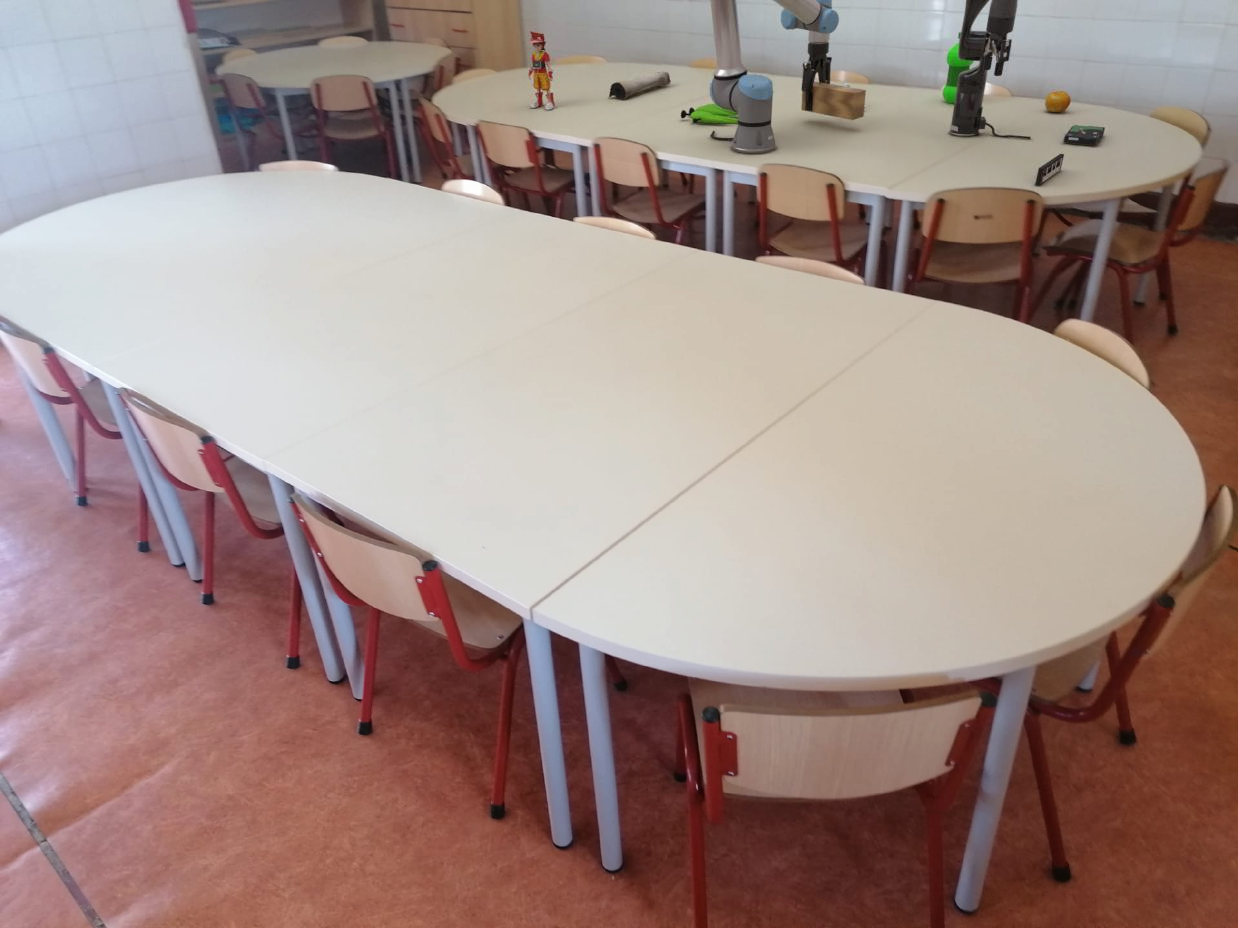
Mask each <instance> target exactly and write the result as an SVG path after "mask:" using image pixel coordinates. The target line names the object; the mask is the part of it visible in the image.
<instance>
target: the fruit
mask: <svg viewBox="0 0 1238 928" xmlns="http://www.w3.org/2000/svg"><path fill="white" fill-rule="evenodd" d="M1071 102H1072V99H1071V96H1070V94H1069V93H1067V92H1066V91H1063V90H1055V91H1052V92H1050V93H1049V94H1048V95H1047V96H1046V98H1045V101H1044V107H1045V109H1046V110H1047V111H1048V112H1051V113H1061V112H1065V111H1066V110H1067V109H1068V108H1069V106H1070V105H1071Z"/></svg>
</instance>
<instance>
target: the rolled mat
mask: <svg viewBox="0 0 1238 928" xmlns="http://www.w3.org/2000/svg"><path fill="white" fill-rule="evenodd" d="M671 83H672V81H671V77H670V74H669V72H668V71H658V72H654V73H649V74H645V75H640V76H637V77H633V78H628V79H623V80H620V81H616V82H613V83H612V84H611V85H610V89H609V95H608V97H609V98H611V97H616V99H620V100H622V101H623V100H626V99H627V98H629V97H630V96H632V95H635V94H636V93H638V92H640V91H643V90H644V89H647V88H650V87H655V86H658V87H659V86H661V87H665V86H669V85H670V84H671Z"/></svg>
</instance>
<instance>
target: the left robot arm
mask: <svg viewBox="0 0 1238 928" xmlns="http://www.w3.org/2000/svg"><path fill="white" fill-rule="evenodd" d="M772 1H773V2H775V3H776V4H777V5H779V6H780V7H782V8H783V9H782V10H781V12H780V23H781V26H782V27H783V29H785V30H792V31H793V30H797V29H799V30H804V31H808V38H807V39H808V40H807V41H808V43H807V54H808V55H809V57H808V60H807V61H806V62H803V63H802V78H801V79H802V80H801V92H802V91H804V92H805V101H806V105H805V110H808V111H812V103H813V92H812V88H813V84H814V81H815V79H816V75H817V77H818V82H821V83H827V84H831V69H832V68H831V67H832V66H831V65H832V60H833V58H832V56H827V54H828V53H829V52H830V51H829V50H830V42H829V41H830V37H831V34H832V33H833V32H835V31H836V30H837V28H838V25H839V23H840V16H839V14H838V12H837V11H836V10H835V9H833V0H772ZM710 10H711V19H712V29H713V39H714V49H715V57H716V58H715V59H716V68H715V69H714V71H713V77H712V79H711V82H710V83H709V96H710V98H711V101H712V102H713V104H716V105H717V106H719V107H721V108H722V109H725V110H730V111H733V112H736V113H738V115H737V119H738V123H737V126H736V129H735V132H734V136H733V137H721V136H715V134H716V131H715V130H712V132H711V134H710V138H711V139H713V140H717V141H731V142H732V143H731V149H732V151H734V152H735V153H736V152H737V153H740V154H747V155H757V154H765V153H769V152H772V151H774V150H775V149H776V137H775V134H774V130H773V127H772V118H773V117H772V115H773V101H774V100H773V98H774V97H773V96H774V86H773V85H774V84H773V80H772V79H770V77H768V76H765V75H763V74H755V73H752V74H751V73H750V74H748V68H747V65H745V64H744V63H743V62H742V61H743V60H742V50H741V49H742V48H741V37H740V24H739V15H738V14H739V13H738V1H737V0H710ZM808 111H807V112H808Z"/></svg>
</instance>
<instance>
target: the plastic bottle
mask: <svg viewBox="0 0 1238 928" xmlns="http://www.w3.org/2000/svg"><path fill="white" fill-rule="evenodd" d="M960 35H961V31H959V32H958V36H957V39H958V42H957V43H956V44H954V45H953V46H952V47H951V48H950V49H949V50H948V52H947V54H946V63H947V64H948V69H947V70H948V71H947V76H946V77H947V78H946V84H945V85H944V87H943V90H942V97H943V99H944V100H945V101H946V102H947V103H948V104H954V103H955V96H956V90H957V83H958V77H959V74H960V73H961V72H963V71H966V70H969V69H971V68H970V67H971V65H972V64H973V63H974V61H964V60H960V59H959V58H958V47H959V41H960Z"/></svg>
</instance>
